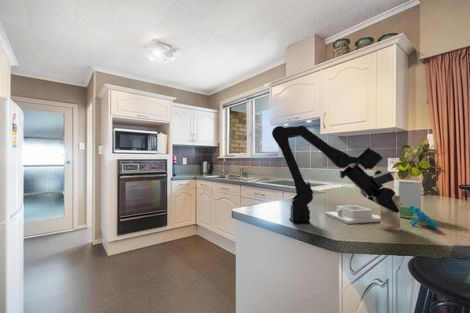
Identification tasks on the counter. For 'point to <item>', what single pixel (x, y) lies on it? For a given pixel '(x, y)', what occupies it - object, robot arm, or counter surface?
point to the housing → (353, 214)
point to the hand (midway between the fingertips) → (394, 209)
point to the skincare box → (408, 196)
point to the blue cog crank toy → (421, 217)
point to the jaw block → (391, 216)
